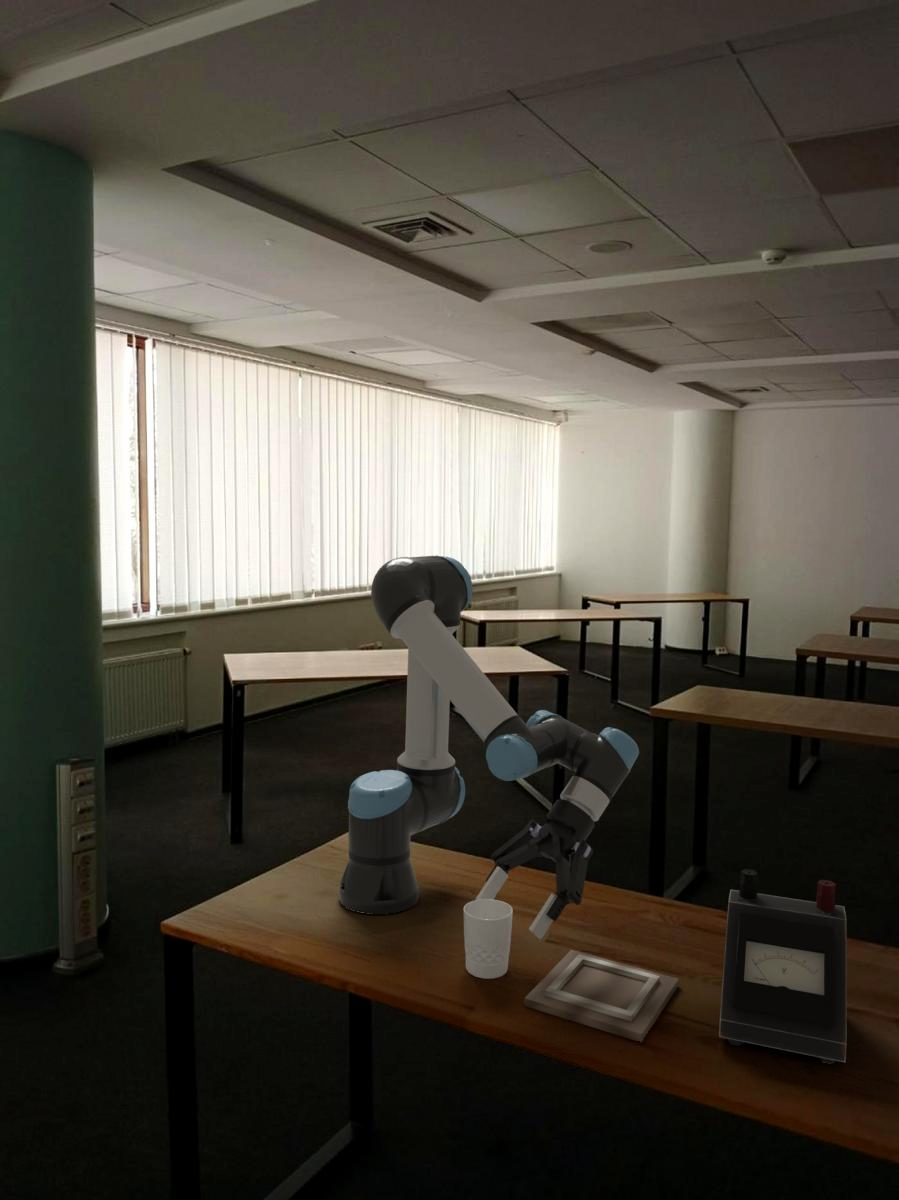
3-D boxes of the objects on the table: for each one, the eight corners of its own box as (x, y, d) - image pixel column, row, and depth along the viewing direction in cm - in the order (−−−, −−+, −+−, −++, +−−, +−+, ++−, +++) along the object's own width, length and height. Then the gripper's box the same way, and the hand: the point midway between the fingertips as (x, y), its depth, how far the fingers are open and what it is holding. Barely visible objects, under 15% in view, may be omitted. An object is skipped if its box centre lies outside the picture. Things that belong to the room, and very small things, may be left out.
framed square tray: (524, 1005, 136) (524, 993, 135) (571, 956, 151) (571, 945, 151) (641, 1042, 127) (641, 1028, 126) (678, 986, 142) (678, 973, 142)
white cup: (477, 985, 141) (478, 923, 140) (453, 963, 148) (454, 904, 147) (520, 974, 145) (522, 914, 144) (495, 953, 152) (496, 895, 151)
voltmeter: (718, 1047, 126) (724, 908, 124) (725, 990, 141) (731, 865, 139) (844, 1074, 120) (853, 928, 118) (838, 1011, 136) (845, 882, 134)
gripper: (643, 844, 145) (572, 960, 138) (539, 803, 165) (473, 903, 158) (620, 818, 142) (546, 936, 134) (517, 780, 162) (448, 880, 155)
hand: (506, 918), depth 146 cm, fingers open, 13 cm apart
